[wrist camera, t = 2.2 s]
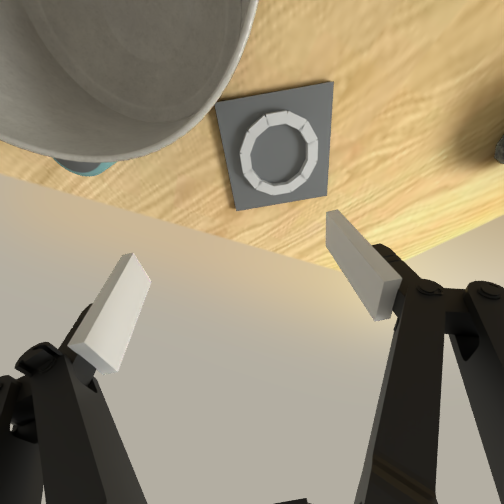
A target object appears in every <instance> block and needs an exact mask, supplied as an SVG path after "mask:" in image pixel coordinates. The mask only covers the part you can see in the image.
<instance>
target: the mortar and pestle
mask: <svg viewBox="0 0 504 504" xmlns="http://www.w3.org/2000/svg"><path fill="white" fill-rule="evenodd" d="M494 158H495V159H496V160H498V161H499V162H500V163H502V164H504V135H503V137H502V138H501V139H500V141H499V142H498V144H497V145H496V149H495V156H494Z"/></svg>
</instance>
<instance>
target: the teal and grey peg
mask: <svg viewBox="0 0 504 504" xmlns="http://www.w3.org/2000/svg"><path fill="white" fill-rule="evenodd" d="M53 158H54V157H53ZM54 160H55V161H56V162H57V163H58V164H60V165H61V166H62V167H64V168H65V169H67V170H68V171H70V172H72V173H75V174H78V175H81V176H95V175H98V174H100V173H102V172H103V171H105V170H106V169H108V168H109V167H110V166H112V165H113V164H115V163H116V162H103V163H91V162H77V161H70V160H63V159H58V158H54ZM117 162H118V161H117Z"/></svg>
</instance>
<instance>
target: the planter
mask: <svg viewBox="0 0 504 504" xmlns="http://www.w3.org/2000/svg"><path fill="white" fill-rule="evenodd" d="M258 2H259V0H0V140H1V141H3V142H6V143H8V144H11V145H14V146H16V147H19V148H22V149H25V150H28V151H31V152H34V153H38V154H41V155H45V156H49V157H54V158H58V159H63V160H70V161H77V162H91V163H103V162H117V161H124V160H130V159H134V158H138V157H142V156H145V155H148V154H151V153H153V152H156V151H159V150H161V149H163V148H164V147H166V146H168V145H170V144H172V143H174V142H175V141H177V140H178V139H180V138H181V137H182V136H184V135H185V134H187V133H188V132H189V131H190V130H191V129H192V128H193V127H195V126H196V125H197V124H198V123H199V122H200V121H201V120H202V119H203V118H204V116H205V115H206V114H207V113H208V112H209V111H210V110H211V108H212V107H213V106H214V104H215V103H216V102H217V100H218V99H219V98H220V96H221V95H222V93H223V91H224V90H225V88H226V86H227V85H228V83H229V81H230V80H231V78H232V76H233V74H234V71H235V69H236V67H237V65H238V63H239V61H240V59H241V56H242V54H243V51H244V48H245V46H246V43H247V40H248V38H249V35H250V32H251V28H252V25H253V21H254V18H255V14H256V11H257V7H258Z"/></svg>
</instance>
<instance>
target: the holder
mask: <svg viewBox="0 0 504 504" xmlns="http://www.w3.org/2000/svg"><path fill="white" fill-rule="evenodd" d="M333 85H334V81H333V82H326V83H320V84H315V85H309V86H304V87H298V88H293V89H287V90H281V91H276V92H270V93H265V94H259V95H254V96H248V97H242V98H237V99H231V100H226V101H220V102H216V103H215V109H216V114H217V119H218V124H219V129H220V134H221V138H222V143H223V148H224V153H225V158H226V163H227V168H228V173H229V178H230V182H231V187H232V192H233V197H234V202H235V207H236V211H240V210H246V209H252V208H258V207H263V206H269V205H275V204H281V203H287V202H292V201H298V200H304V199H310V198H316V197H321V196H327V185H328V168H329V152H330V135H331V118H332V102H333Z"/></svg>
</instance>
